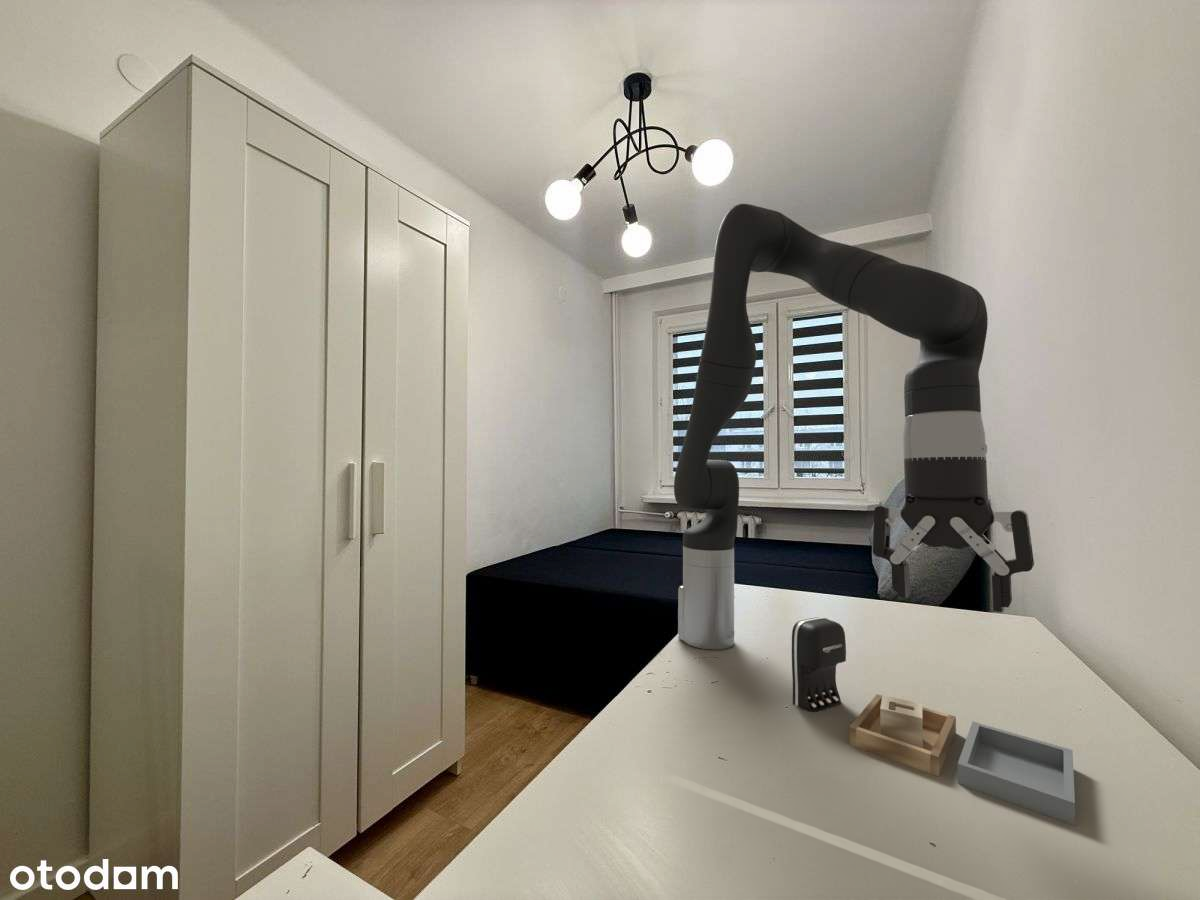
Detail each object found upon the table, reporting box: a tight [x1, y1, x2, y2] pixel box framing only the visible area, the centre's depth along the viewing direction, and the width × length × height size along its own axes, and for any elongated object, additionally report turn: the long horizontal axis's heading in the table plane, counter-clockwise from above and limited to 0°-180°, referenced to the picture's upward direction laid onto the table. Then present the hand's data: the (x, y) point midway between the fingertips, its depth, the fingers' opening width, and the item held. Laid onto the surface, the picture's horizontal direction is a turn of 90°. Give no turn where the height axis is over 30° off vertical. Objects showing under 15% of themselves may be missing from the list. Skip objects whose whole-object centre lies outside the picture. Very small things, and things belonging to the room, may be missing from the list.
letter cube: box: [880, 694, 923, 748], centre depth 56 cm, size 4×4×4 cm
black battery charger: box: [791, 616, 847, 713], centre depth 66 cm, size 7×4×11 cm, turn 117°
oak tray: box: [848, 693, 957, 777], centre depth 57 cm, size 8×11×2 cm
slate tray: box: [957, 721, 1076, 827], centre depth 50 cm, size 8×11×2 cm
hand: (949, 603), depth 54 cm, fingers open, 8 cm apart
